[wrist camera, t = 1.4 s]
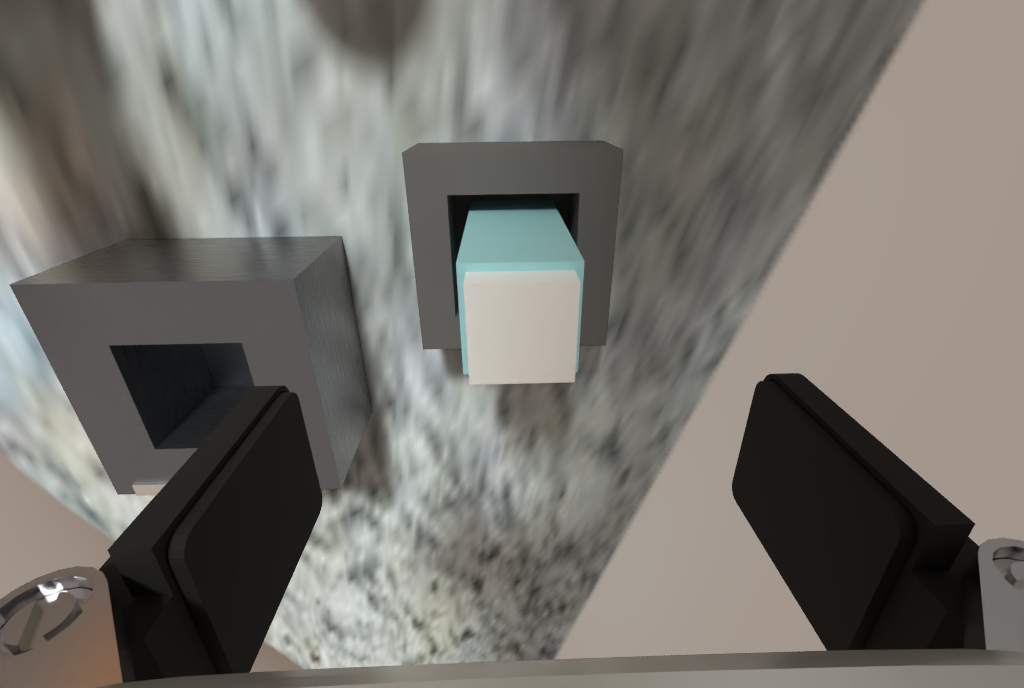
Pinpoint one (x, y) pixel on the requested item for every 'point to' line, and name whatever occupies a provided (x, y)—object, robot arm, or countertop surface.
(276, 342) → the port block
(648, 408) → the countertop surface
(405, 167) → the grey square socket
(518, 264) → the plug
